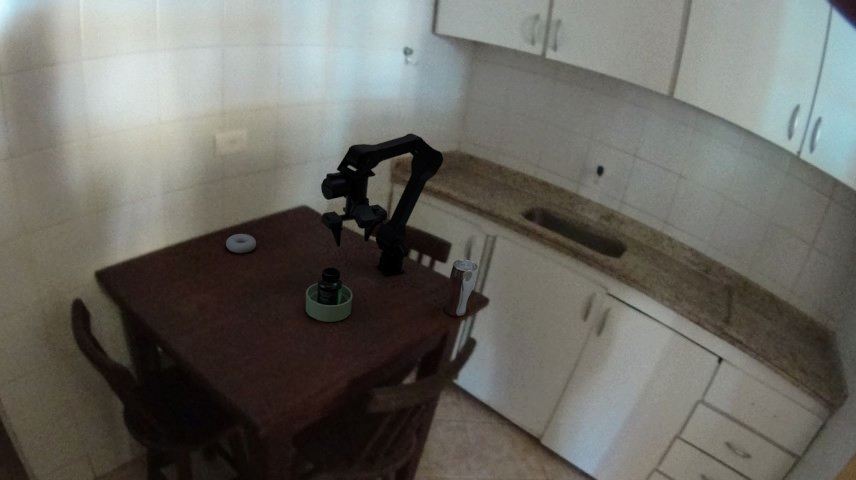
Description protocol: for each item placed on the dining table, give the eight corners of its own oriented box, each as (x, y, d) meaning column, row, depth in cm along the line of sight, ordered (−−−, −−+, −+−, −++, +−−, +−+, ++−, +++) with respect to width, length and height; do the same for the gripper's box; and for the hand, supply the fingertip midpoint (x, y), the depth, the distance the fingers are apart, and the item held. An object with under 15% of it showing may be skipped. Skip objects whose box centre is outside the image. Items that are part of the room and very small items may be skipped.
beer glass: (463, 320, 172) (473, 273, 163) (439, 312, 175) (448, 266, 166) (471, 309, 177) (482, 263, 168) (448, 302, 180) (457, 256, 171)
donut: (224, 254, 199) (255, 255, 199) (223, 245, 197) (254, 245, 197) (228, 241, 207) (257, 241, 207) (227, 231, 205) (257, 232, 205)
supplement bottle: (344, 312, 173) (348, 274, 166) (323, 317, 170) (325, 279, 163) (333, 300, 178) (336, 263, 171) (312, 305, 175) (314, 268, 168)
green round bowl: (338, 294, 181) (339, 278, 178) (359, 317, 172) (360, 300, 168) (298, 303, 177) (298, 287, 173) (317, 327, 167) (318, 310, 164)
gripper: (340, 208, 161) (336, 261, 171) (400, 199, 168) (393, 250, 177) (321, 193, 169) (319, 244, 179) (380, 184, 176) (374, 234, 185)
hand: (352, 243), depth 180 cm, fingers open, 9 cm apart
